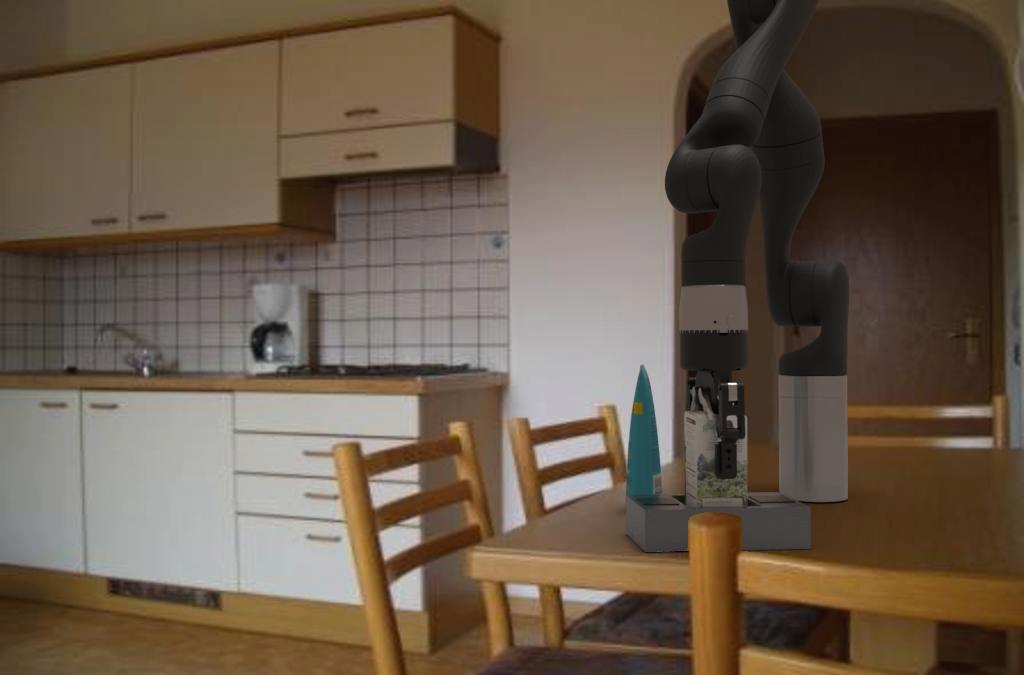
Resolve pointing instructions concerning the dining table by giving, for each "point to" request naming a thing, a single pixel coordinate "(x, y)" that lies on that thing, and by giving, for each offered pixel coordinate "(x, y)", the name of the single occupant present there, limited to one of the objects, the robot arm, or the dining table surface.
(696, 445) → the syrup box
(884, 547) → the dining table surface
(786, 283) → the robot arm
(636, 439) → the tube
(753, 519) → the grey open box
